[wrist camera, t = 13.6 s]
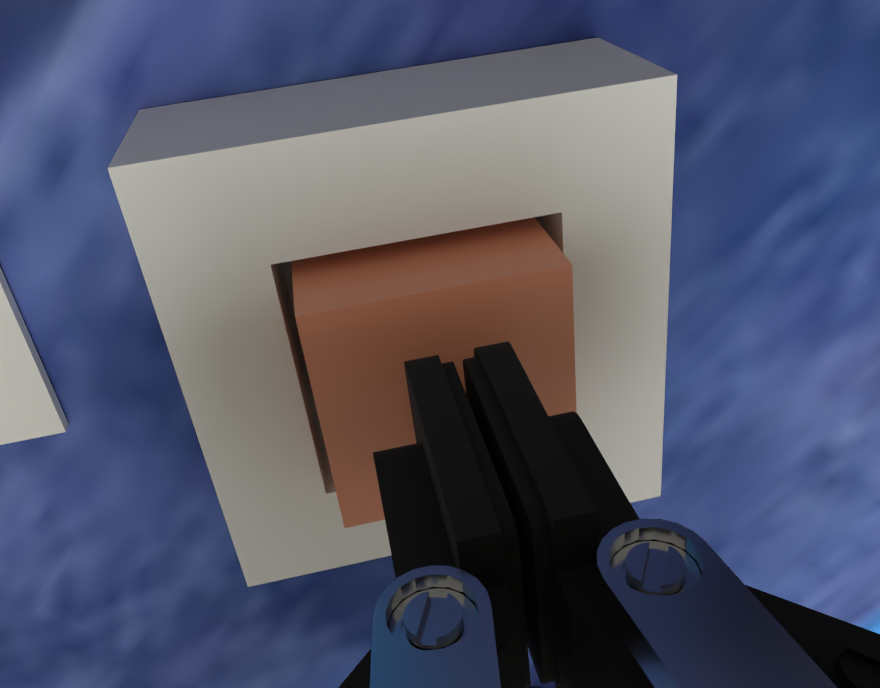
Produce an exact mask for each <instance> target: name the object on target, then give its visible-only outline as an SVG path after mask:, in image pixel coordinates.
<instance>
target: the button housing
mask: <svg viewBox="0 0 880 688" xmlns="http://www.w3.org/2000/svg"><path fill="white" fill-rule="evenodd" d="M676 94H677V74H675V73H673V72H671V71H669V70H666V69H664V68H662V67H660V66H658V65H656V64H654V63H652V62H649V61H647V60H645V59H643V58H641V57H639V56H637V55H635V54H632V53H630V52H628V51H626V50H624V49H622V48H620V47H618V46H615V45H613V44H611V43H609V42H607V41H605V40H603V39H601V38H592V39H585V40H579V41H573V42H566V43H560V44H554V45H547V46H541V47H534V48H528V49H522V50H515V51H509V52H503V53H496V54H490V55H484V56H477V57H471V58H465V59H458V60H452V61H445V62H439V63H433V64H426V65H420V66H414V67H407V68H401V69H395V70H388V71H382V72H375V73H369V74H363V75H356V76H350V77H344V78H337V79H331V80H325V81H318V82H312V83H306V84H299V85H293V86H286V87H280V88H274V89H267V90H261V91H255V92H248V93H242V94H236V95H229V96H223V97H217V98H210V99H204V100H197V101H191V102H185V103H178V104H172V105H166V106H159V107H153V108H147V109H140V110H139V111H138V113H137V115H136V117H135V118H134V120H133V122H132V124H131V126H130V128H129V129H128V131H127V133H126V135H125V137H124V139H123V140H122V142H121V144H120V146H119V148H118V150H117V151H116V153H115V155H114V157H113V159H112V161H111V162H110V164H109V166H108V171H109V174H110V177H111V180H112V183H113V186H114V189H115V192H116V195H117V198H118V201H119V204H120V207H121V210H122V213H123V216H124V219H125V222H126V225H127V228H128V231H129V234H130V237H131V240H132V243H133V246H134V249H135V252H136V255H137V258H138V261H139V264H140V267H141V270H142V273H143V276H144V279H145V282H146V285H147V288H148V291H149V294H150V297H151V300H152V303H153V306H154V309H155V312H156V315H157V318H158V320H159V323H160V326H161V329H162V332H163V335H164V338H165V341H166V344H167V347H168V350H169V353H170V356H171V359H172V362H173V365H174V368H175V371H176V374H177V377H178V380H179V383H180V386H181V389H182V392H183V395H184V398H185V401H186V404H187V407H188V410H189V413H190V416H191V419H192V422H193V425H194V428H195V431H196V434H197V437H198V440H199V443H200V446H201V449H202V452H203V455H204V458H205V461H206V464H207V467H208V470H209V473H210V476H211V478H212V481H213V484H214V487H215V490H216V493H217V496H218V499H219V502H220V505H221V508H222V511H223V514H224V517H225V520H226V523H227V526H228V529H229V532H230V535H231V538H232V541H233V544H234V547H235V550H236V553H237V556H238V559H239V562H240V565H241V568H242V571H243V574H244V577H245V580H246V583H247V586H248V587H251V586H256V585H260V584H265V583H269V582H274V581H278V580H283V579H287V578H292V577H296V576H301V575H305V574H310V573H314V572H319V571H324V570H328V569H333V568H337V567H342V566H346V565H351V564H355V563H360V562H364V561H369V560H373V559H378V558H382V557H387V556H392V555H391V549H390V544H389V538H388V533H387V528H386V522H385V520H381V521H376V522H371V523H367V524H362V525H357V526H353V527H348V528H344V524H343V520H342V515H341V511H340V507H339V503H338V498H337V494H336V490H335V485H334V481H333V477H332V473H331V468H330V464H329V460H328V456H327V451H326V447H325V443H324V438H323V434H322V430H321V426H320V421H319V417H318V413H317V409H316V404H315V400H314V396H313V392H312V387H311V383H310V379H309V374H308V370H307V366H306V362H305V357H304V353H303V349H302V345H301V340H300V336H299V332H298V328H297V323H296V319H295V311H294V296H293V282H292V268H291V261H294V260H299V259H305V258H310V257H316V256H322V255H327V254H333V253H338V252H344V251H349V250H355V249H360V248H366V247H372V246H377V245H383V244H388V243H394V242H399V241H405V240H411V239H416V238H422V237H427V236H433V235H438V234H444V233H449V232H455V231H461V230H466V229H472V228H477V227H483V226H488V225H494V224H499V223H505V222H511V221H516V220H522V219H527V218H533V217H535V219H536V220H537V221H538V222H539V224H540V225H541V226H542V227H543V229H544V230H545V231H546V232H547V234H548V235H549V236H550V237H551V239H552V240H553V241H554V242H555V244H556V245H557V246H558V247H559V249H560V250H561V251H562V252H563V254H564V255H565V256H566V257H567V259H568V260H569V261H570V262H571V264H572V273H573V307H574V341H575V375H576V409H577V414H578V415H579V416H580V418H581V419H582V421H583V423H584V424H585V426H586V428H587V430H588V431H589V433H590V435H591V437H592V438H593V440H594V442H595V443H596V445H597V447H598V449H599V450H600V452H601V454H602V456H603V457H604V459H605V461H606V462H607V464H608V466H609V468H610V469H611V471H612V473H613V475H614V476H615V478H616V480H617V481H618V483H619V485H620V487H621V488H622V490H623V492H624V493H625V495H626V497H627V499H628V500H629V502H630V503H632V502H636V501H641V500H645V499H650V498H654V497H659V496H661V474H662V448H663V423H664V398H665V373H666V347H667V322H668V297H669V271H670V246H671V221H672V195H673V170H674V145H675V120H676Z"/></svg>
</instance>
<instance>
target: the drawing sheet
mask: <svg viewBox="0 0 880 688" xmlns="http://www.w3.org/2000/svg"><path fill="white" fill-rule="evenodd" d="M68 425H69V424H68V422H67V419H66V417H65V415H64V412H63V410H62V408H61V405H60V403H59V401H58V399H57V396H56V394H55V392H54V389H53V387H52V385H51V382H50V380H49V378H48V376H47V373H46V371H45V369H44V366H43V364H42V362H41V359H40V357H39V355H38V353H37V350H36V348H35V346H34V343H33V341H32V339H31V336H30V334H29V332H28V330H27V327H26V325H25V323H24V320H23V318H22V316H21V313H20V311H19V309H18V307H17V304H16V302H15V300H14V297H13V295H12V293H11V290H10V288H9V286H8V284H7V281H6V279H5V277H4V274H3V272H2V270H1V267H0V445H2V444H7V443H13V442H18V441H23V440H28V439H33V438H38V437H43V436H48V435H53V434H58V433H64V432H66V430H67V427H68Z"/></svg>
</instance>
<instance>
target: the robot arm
mask: <svg viewBox="0 0 880 688" xmlns="http://www.w3.org/2000/svg"><path fill="white" fill-rule="evenodd" d="M404 368H405V375H406V381H407V387H408V393H409V400H410V406H411V412H412V419H413V425H414V431H415V437H416V444H411V445H406V446H401V447H396V448H392V449H387V450H382V451H377V452H373V457H374V463H375V468H376V474H377V479H378V484H379V490H380V495H381V501H382V506H383V511H384V517H385V522H386V528H387V533H388V538H389V544H390V549H391V555H392V560H393V565H394V571H395V576H396V579H395V580H394V581H393V582H391V583H390V584H389V585H388V586H387V587H386V588H385V589H384V590H383V592H382V593H381V595H380V597H379V598H378V600H377V601H376V605H375V609H374V613H373V621H372V645H371V649H370V651H369V652H368V653H367V654H366V655H365V657H364V658H363V659H362V660H361V661H360V663H359V664H358V665H357V666H356V667H355V668H354V670H353V671H352V672H351V673H350V674H349V676H348V677H347V678H346V679H345V680H344V682H343V683H342V684H341V685H340V686H339V688H528V687H530V671H529V659H528V648H529V651H530V654H531V657H532V660H533V663H534V666H535V669H536V672H537V675H538V677H539V680H540V682H541V683H542V684H544V683H549V682H553V681H554V683H555V685H556V688H880V634H877V633H875V632H872V631H869V630H866V629H864V628H861V627H858V626H856V625H853V624H850V623H847V622H845V621H842V620H839V619H836V618H834V617H831V616H828V615H826V614H823V613H820V612H817V611H815V610H812V609H809V608H806V607H804V606H801V605H798V604H796V603H793V602H790V601H787V600H785V599H782V598H779V597H777V596H774V595H771V594H768V593H766V592H763V591H760V590H757V589H755V588H752V587H749V586H747V585H744V584H743V582H742V581H741V580H740V579H739V578H738V577H737V576H736V575H735V574H734V572H733V571H732V570H731V569H730V568H729V567H728V566H727V565H726V564H725V562H724V561H723V560H722V559H721V558H720V557H719V556H718V555H717V554H716V552H715V551H714V550H713V549H712V548H711V547H710V546H709V545H708V544H707V543H706V541H704V540H703V539H702V538H701V537H700V536H698V535H697V534H696V533H695V532H694V531H692V530H690V529H688V528H686V527H684V526H682V525H680V524H678V523H674V522H670V521H666V520H661V519H639V518H638V516H637V514H636V512H635V511H634V509H633V507H632V506H631V504H630V502H629V500H628V499H627V497H626V495H625V493H624V492H623V490H622V488H621V487H620V485H619V483H618V481H617V480H616V478H615V476H614V475H613V473H612V471H611V469H610V468H609V466H608V464H607V462H606V461H605V459H604V457H603V456H602V454H601V452H600V450H599V449H598V447H597V445H596V443H595V442H594V440H593V438H592V437H591V435H590V433H589V431H588V430H587V428H586V426H585V424H584V423H583V421H582V419H581V418H580V416H579V415H578V414H577V413H576V412H574V411H572V412H567V413H562V414H557V415H552V416H548V414H547V413H546V411H545V409H544V407H543V405H542V403H541V401H540V399H539V397H538V395H537V393H536V391H535V390H534V388H533V386H532V384H531V382H530V380H529V378H528V376H527V374H526V372H525V370H524V368H523V367H522V365H521V363H520V361H519V359H518V357H517V355H516V353H515V351H514V349H513V347H512V345H511V344H510V342H508V341H507V342H502V343H497V344H492V345H487V346H481V347H476V348H474V357H472V358H467V359H463V371H464V380H465V389H466V393H465V390H464V388H463V385H462V382H461V380H460V377H459V375H458V372H457V369H456V367H455V364H454V362H453V361H452V362H447V363H442V364H441V361H440V358H439V356H438V355H435V356H430V357H425V358H420V359H415V360H409V361H404ZM527 645H528V646H527Z"/></svg>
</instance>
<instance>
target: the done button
mask: <svg viewBox="0 0 880 688" xmlns="http://www.w3.org/2000/svg"><path fill="white" fill-rule="evenodd" d="M291 268H292V282H293V296H294V311H295V319H296V323H297V328H298V332H299V336H300V340H301V345H302V349H303V353H304V357H305V362H306V366H307V370H308V374H309V379H310V383H311V387H312V392H313V396H314V400H315V404H316V409H317V413H318V417H319V421H320V426H321V430H322V434H323V438H324V443H325V447H326V451H327V456H328V460H329V464H330V468H331V473H332V477H333V481H334V485H335V490H336V494H337V498H338V503H339V507H340V511H341V515H342V520H343V524H344V528H348V527H353V526H357V525H362V524H367V523H371V522H376V521H381V520H385V517H384V511H383V506H382V501H381V495H380V490H379V484H378V479H377V474H376V468H375V463H374V457H373V452H377V451H382V450H387V449H392V448H396V447H401V446H406V445H411V444H416V437H415V431H414V425H413V419H412V412H411V406H410V400H409V393H408V387H407V381H406V375H405V368H404V361H409V360H415V359H420V358H425V357H430V356H435V355H438V356H439V358H440V361H441V364H442V363H447V362H452V361H453V362H454V364H455V367H456V369H457V372H458V375H459V377H460V380H461V382H462V385H463V388H464V390H465V393H466V389H465V380H464V371H463V359H467V358H472V357H474V348H476V347H481V346H487V345H492V344H497V343H502V342H507V341H508V342H510V344H511V345H512V347H513V349H514V351H515V353H516V355H517V357H518V359H519V361H520V363H521V365H522V367H523V368H524V370H525V372H526V374H527V376H528V378H529V380H530V382H531V384H532V386H533V388H534V390H535V391H536V393H537V395H538V397H539V399H540V401H541V403H542V405H543V407H544V409H545V411H546V413H547V414H548V416H552V415H557V414H562V413H567V412H572V411H574V412H576V413H577V409H576V375H575V341H574V307H573V273H572V264H571V262H570V261H569V260H568V259H567V257H566V256H565V255H564V254H563V252H562V251H561V250H560V249H559V247H558V246H557V245H556V244H555V242H554V241H553V240H552V239H551V237H550V236H549V235H548V234H547V232H546V231H545V230H544V229H543V227H542V226H541V225H540V224H539V222H538V221H537V220H536V219H535V217H533V218H527V219H522V220H516V221H511V222H505V223H499V224H494V225H488V226H483V227H477V228H472V229H466V230H461V231H455V232H449V233H444V234H438V235H433V236H427V237H422V238H416V239H411V240H405V241H399V242H394V243H388V244H383V245H377V246H372V247H366V248H360V249H355V250H349V251H344V252H338V253H333V254H327V255H322V256H316V257H310V258H305V259H299V260H294V261H291Z"/></svg>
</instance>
